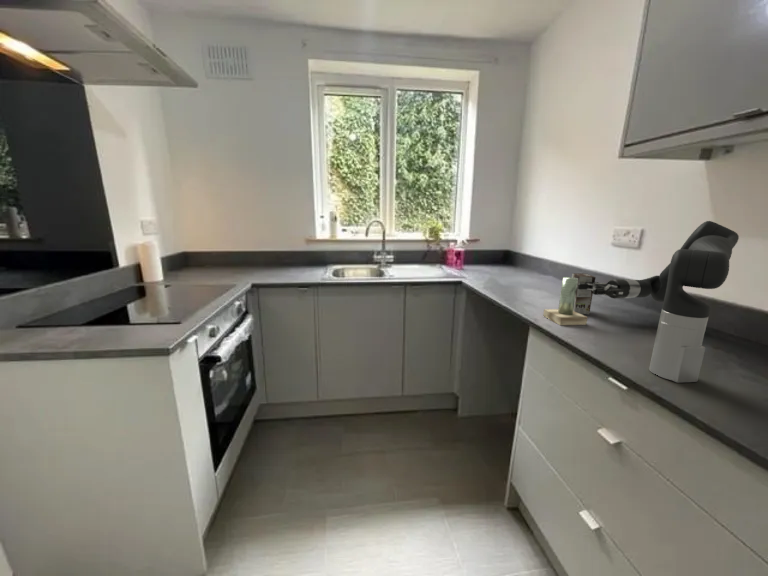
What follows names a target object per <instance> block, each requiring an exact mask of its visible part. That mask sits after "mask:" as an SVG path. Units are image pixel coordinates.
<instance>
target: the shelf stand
mask: <svg viewBox="0 0 768 576" xmlns="http://www.w3.org/2000/svg"><path fill="white" fill-rule="evenodd" d="M558 309H559V308H551V309H550V308H548V309H547V308H544V309H543V314H542V317H543V316H544V317H543V318H545V317H546V318H545V319H547V318H548V319H547V320H549V319H550V320H549V321H551V322H553V323H555V324H557V325H559V326H577V325H579V326H582V325H583V326H586V325H587V323H588V318H589V317H588V316H586V315H585V314H579V313H577V312H575V311H573V315H564V314H560V313H558Z"/></svg>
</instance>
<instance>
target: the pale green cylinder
mask: <svg viewBox="0 0 768 576" xmlns="http://www.w3.org/2000/svg"><path fill="white" fill-rule="evenodd" d="M561 280H562V281H561V289H560V294H559V295H560V296H559V304H558V308H557V309H558V313H560V314H564V315H573V310H574V303H575V296H576V289H577V282H578V278H574V277H572V276H562V279H561Z"/></svg>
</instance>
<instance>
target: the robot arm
mask: <svg viewBox="0 0 768 576" xmlns="http://www.w3.org/2000/svg"><path fill="white" fill-rule="evenodd" d="M739 237H740V236H739V234H738V232H736V231H734V230H732V229H730V228H729V227H726V226H724V225H722V224H719V223H717V222H714V221H712V220H706V221H704V222H702V223H701V224H700V225H699V226H698V227H696V229H694V230H693V232H692V233H691V234H690V236H688V237H687V239H686V240H685V242H684V243H683V245H682V246H681V247H680V249H677V250H675V252H674V253H673V254H672V256H671V260H670V263H669V264H668V265H667V266H666V267H665V268H664V269H663V270H662V271H661V272H660V273H659V275H654V276H650V277H647V278H643V279H627V278H626V279H625V278H624V279H623V278H622V279H621V278H619V279H614V278H613V279H611V280H608V281H607V282H601V283H600V282H597V281H595V282H585V284H578V289H580V290H584V289H587V290H592V291H593V295H594V296H596V295H597V296H602V295H603V296H608V297H609V298H611V299H632V298H646V297H648V296H651V298H652V299H653V300H654V301H655V302H663V303H662V307H661V310H660V311H661V313H660V315H659V316H660V317H659V321H658V325H657V330H656V333H655V339H654V344H653V349H652V353H651V359H650V363H649V368H648V370H649V371H650V372H651V373H652V374H654V375H655V374H656V376H657V375H658V377H661V378H662V379H666V380H670V381H673V382H675V383H677V384H678V383H696V382H698V380H699V375H700V372H701V368H702V364H703V359H704V356H705V352H706V347H705V346H703V341H704V337H705V332H706V328H707V325H708V321H709V317H710V313H711V306H710V305H709V303H706V302H705V301H702V300H700V299H698V298H695V297H693V296H692V295H690V294H689V293H687V292H686V291H685V290H684V288H683V287H688V288H689V287H690V288H696V289H703V290H704V289H706V290H714V289H718V288H720V287H722V285H723V284H724V283H725V282H726V280H727V278H728V275H729V271H730V259H731V258H732V253H733V249H734V248H735V246H736V245H737V244H738V241H739V239H740V238H739Z"/></svg>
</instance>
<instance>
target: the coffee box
mask: <svg viewBox="0 0 768 576" xmlns="http://www.w3.org/2000/svg"><path fill="white" fill-rule="evenodd" d="M571 277H574V278H578V282H577V289H576V296H575V303H574V310H573V311H575V312H577V313H579V314H581V315H590V313H591V305H592V300H593V295H594V294H593V291H592V290H587V289H584V290H580V289H578V284H585V282H596V276H594V275H591V274H588V273H584V272H583V273H580V272H578V273H576V272H572V274H571Z"/></svg>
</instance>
